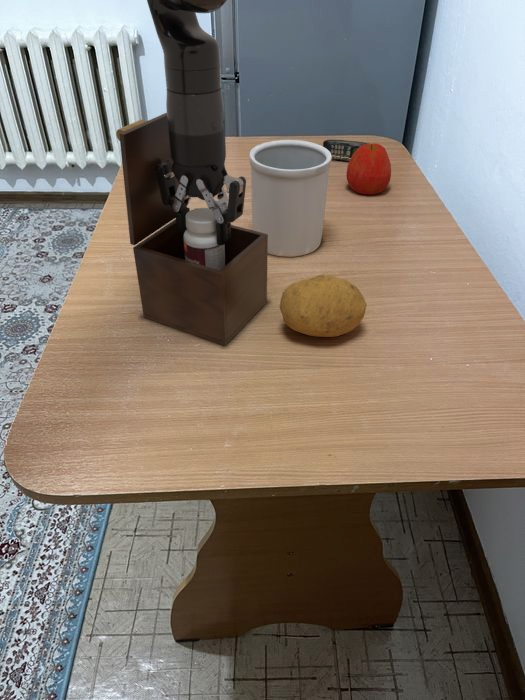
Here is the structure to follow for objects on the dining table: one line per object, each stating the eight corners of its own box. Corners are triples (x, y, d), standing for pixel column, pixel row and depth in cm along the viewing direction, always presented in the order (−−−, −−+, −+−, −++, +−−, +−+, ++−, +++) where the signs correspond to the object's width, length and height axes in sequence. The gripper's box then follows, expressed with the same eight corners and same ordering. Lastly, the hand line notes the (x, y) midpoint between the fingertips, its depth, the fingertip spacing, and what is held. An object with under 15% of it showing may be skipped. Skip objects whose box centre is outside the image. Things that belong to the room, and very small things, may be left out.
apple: (364, 176, 138) (369, 133, 132) (398, 189, 133) (405, 144, 126) (336, 188, 133) (340, 143, 126) (370, 202, 127) (376, 155, 121)
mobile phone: (322, 141, 144) (381, 145, 141) (324, 137, 146) (383, 141, 143) (321, 160, 147) (379, 165, 144) (323, 156, 149) (380, 161, 146)
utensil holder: (329, 258, 107) (337, 168, 96) (251, 260, 107) (250, 169, 96) (319, 223, 119) (325, 139, 108) (248, 224, 118) (248, 139, 107)
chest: (267, 302, 96) (268, 234, 88) (225, 346, 86) (221, 274, 78) (190, 278, 101) (184, 212, 93) (143, 317, 92) (132, 247, 84)
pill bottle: (179, 279, 90) (173, 213, 83) (210, 266, 93) (206, 202, 86) (202, 295, 87) (198, 228, 80) (233, 281, 90) (232, 215, 83)
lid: (184, 107, 82) (155, 100, 84) (123, 134, 73) (92, 125, 75) (186, 210, 93) (161, 202, 95) (134, 245, 84) (106, 235, 85)
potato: (373, 300, 80) (364, 261, 87) (279, 303, 80) (277, 265, 87) (368, 348, 87) (360, 308, 93) (281, 351, 87) (279, 311, 94)
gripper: (257, 124, 75) (257, 238, 85) (168, 108, 80) (178, 217, 90) (228, 141, 70) (231, 260, 80) (135, 122, 75) (150, 237, 85)
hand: (203, 237), depth 85 cm, fingers closed on pill bottle, 6 cm apart
